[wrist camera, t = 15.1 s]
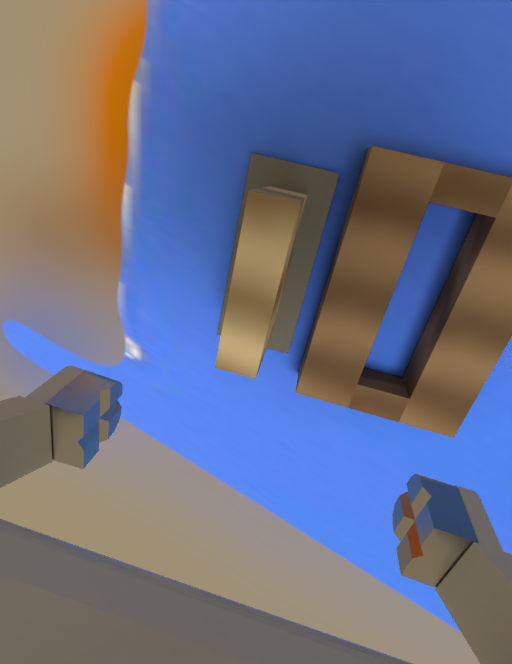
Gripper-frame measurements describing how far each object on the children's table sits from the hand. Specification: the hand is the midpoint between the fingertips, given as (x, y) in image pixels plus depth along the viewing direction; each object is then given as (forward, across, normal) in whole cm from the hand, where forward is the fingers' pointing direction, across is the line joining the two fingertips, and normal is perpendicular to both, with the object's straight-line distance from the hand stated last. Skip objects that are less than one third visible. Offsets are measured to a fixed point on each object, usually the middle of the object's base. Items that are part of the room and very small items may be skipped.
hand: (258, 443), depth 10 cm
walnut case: (+24, -9, +2) cm, 25 cm away
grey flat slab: (+24, +3, +2) cm, 24 cm away
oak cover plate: (+23, +3, +2) cm, 23 cm away
